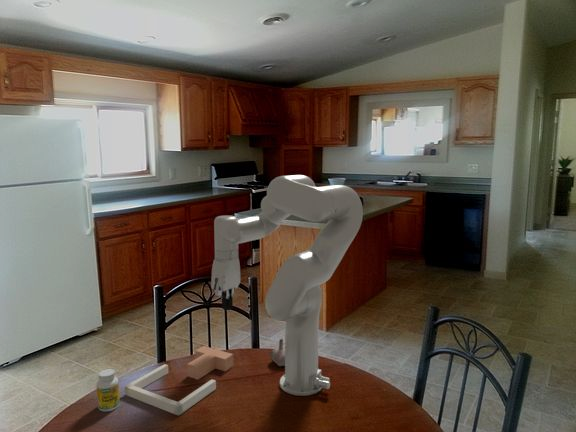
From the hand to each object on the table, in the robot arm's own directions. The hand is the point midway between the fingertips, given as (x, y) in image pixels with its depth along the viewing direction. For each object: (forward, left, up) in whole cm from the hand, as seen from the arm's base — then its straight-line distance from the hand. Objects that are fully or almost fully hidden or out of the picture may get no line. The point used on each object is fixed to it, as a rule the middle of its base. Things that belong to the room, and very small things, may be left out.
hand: (227, 308), depth 145 cm
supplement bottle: (+9, +40, -16) cm, 44 cm away
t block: (0, +12, -16) cm, 20 cm away
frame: (0, +27, -16) cm, 31 cm away
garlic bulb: (-18, -4, -16) cm, 25 cm away
